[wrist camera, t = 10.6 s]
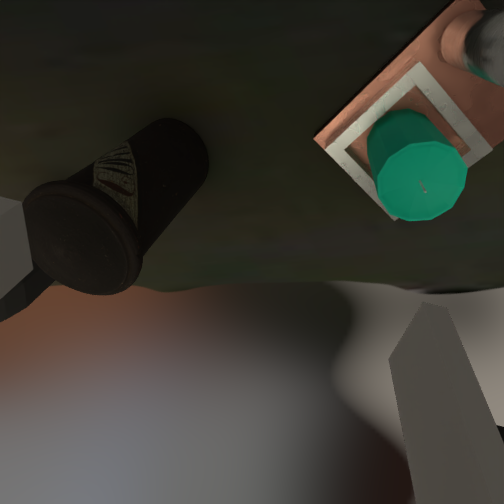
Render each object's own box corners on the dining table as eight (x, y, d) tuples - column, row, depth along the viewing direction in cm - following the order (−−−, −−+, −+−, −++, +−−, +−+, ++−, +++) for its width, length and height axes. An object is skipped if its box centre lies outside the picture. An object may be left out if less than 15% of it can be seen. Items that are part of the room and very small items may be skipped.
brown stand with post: (314, 134, 38) (305, 185, 27) (463, -12, 30) (542, -29, 19) (391, 213, 41) (413, 289, 29) (546, 99, 33) (658, 143, 21)
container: (195, 106, 38) (90, 177, 22) (223, 187, 43) (152, 298, 26) (124, 127, 41) (-20, 204, 24) (157, 202, 45) (54, 311, 29)
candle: (399, 184, 37) (423, 246, 27) (352, 148, 36) (359, 198, 26) (449, 135, 34) (497, 184, 24) (399, 93, 33) (428, 127, 23)
